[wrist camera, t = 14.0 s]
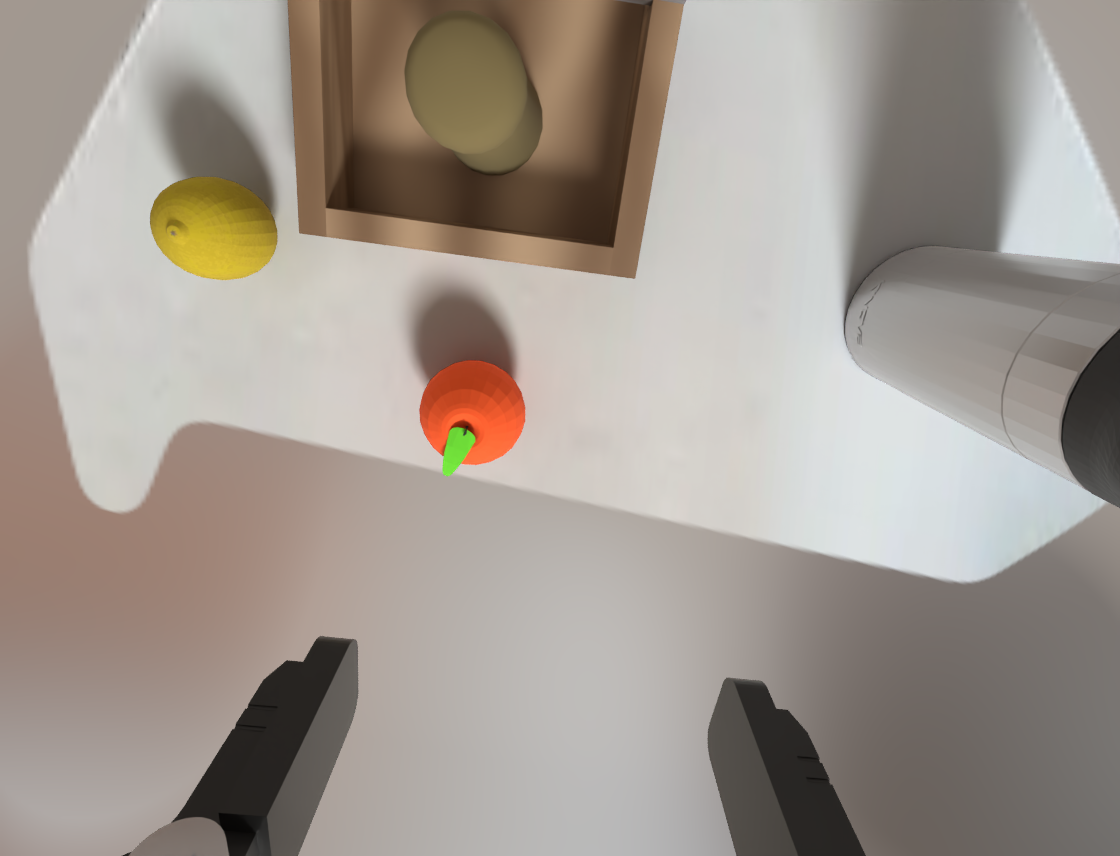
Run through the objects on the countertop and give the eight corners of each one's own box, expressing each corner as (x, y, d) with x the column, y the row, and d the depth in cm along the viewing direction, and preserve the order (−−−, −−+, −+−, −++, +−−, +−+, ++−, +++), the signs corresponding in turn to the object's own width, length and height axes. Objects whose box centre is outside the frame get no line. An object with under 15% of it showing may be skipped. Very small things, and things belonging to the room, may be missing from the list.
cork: (535, 183, 33) (524, 172, 23) (437, 166, 33) (381, 147, 22) (550, 69, 31) (545, 0, 21) (444, 49, 30) (386, -32, 20)
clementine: (501, 464, 41) (489, 514, 34) (414, 429, 40) (385, 473, 33) (543, 373, 38) (540, 407, 32) (452, 332, 37) (428, 359, 30)
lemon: (207, 255, 35) (114, 268, 28) (215, 167, 33) (116, 155, 26) (293, 283, 36) (224, 302, 28) (305, 197, 34) (234, 194, 26)
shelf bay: (670, 5, 30) (692, -37, 25) (625, 269, 35) (636, 279, 30) (326, -51, 29) (277, -105, 24) (334, 230, 34) (295, 233, 29)
